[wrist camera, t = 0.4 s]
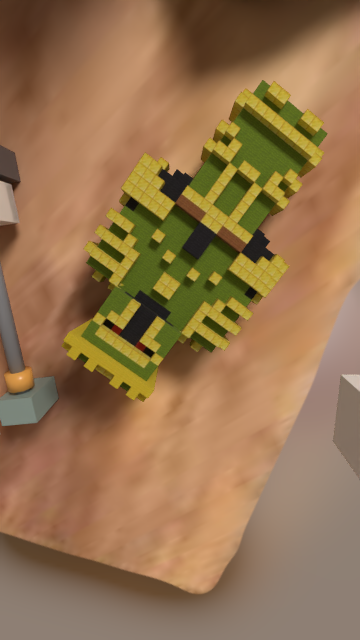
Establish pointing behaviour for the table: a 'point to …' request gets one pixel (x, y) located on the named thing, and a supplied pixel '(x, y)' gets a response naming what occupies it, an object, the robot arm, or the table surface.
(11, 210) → the cream l-shaped block
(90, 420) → the table surface
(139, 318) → the toy
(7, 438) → the table surface
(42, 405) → the rail
